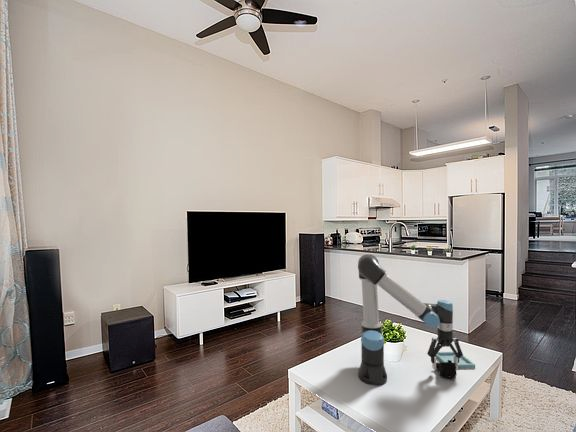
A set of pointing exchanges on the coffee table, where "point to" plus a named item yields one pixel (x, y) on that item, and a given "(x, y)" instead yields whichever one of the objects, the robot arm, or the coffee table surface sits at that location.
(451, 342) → the robot arm
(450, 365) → the toy
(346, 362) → the coffee table surface
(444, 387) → the coffee table surface
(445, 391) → the coffee table surface
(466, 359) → the tray
